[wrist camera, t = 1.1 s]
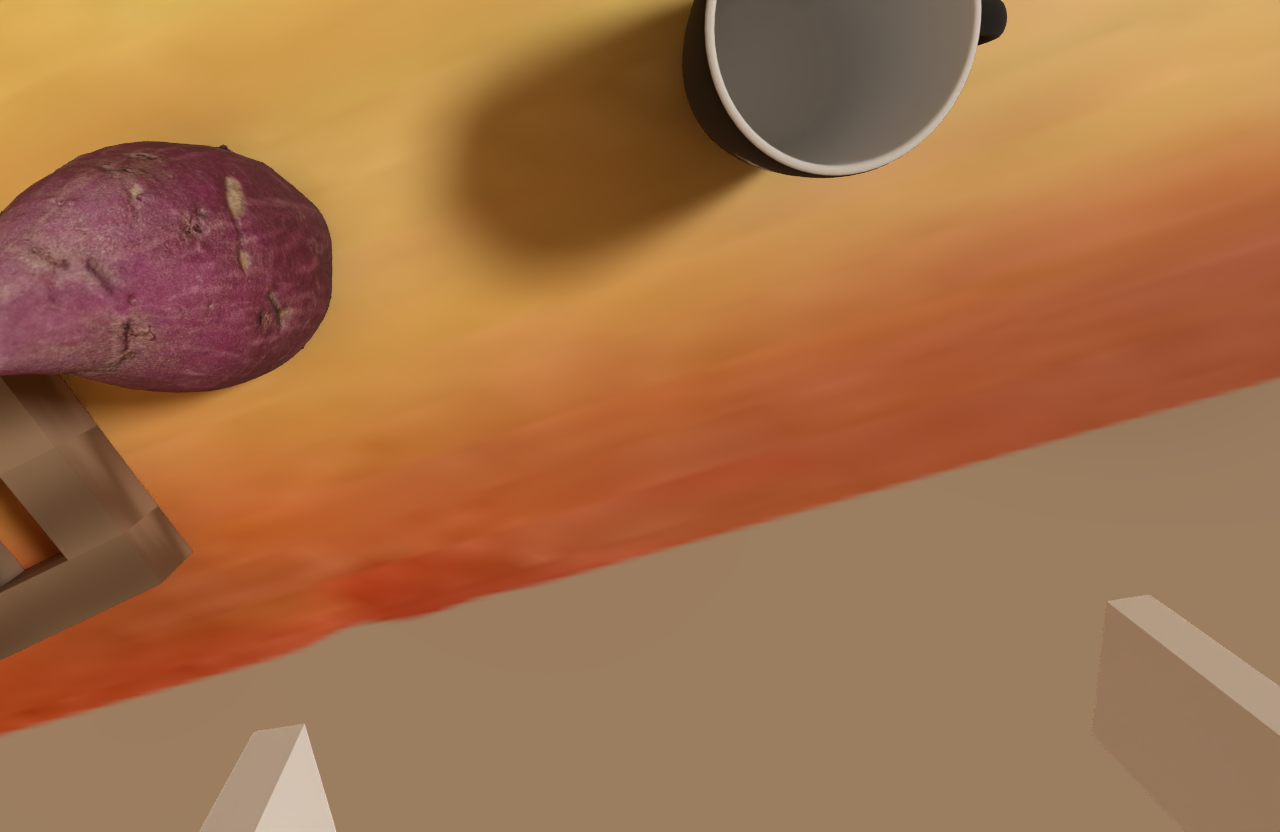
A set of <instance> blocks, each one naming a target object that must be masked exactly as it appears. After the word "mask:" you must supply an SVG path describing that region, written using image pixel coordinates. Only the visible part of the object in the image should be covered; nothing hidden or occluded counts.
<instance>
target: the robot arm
mask: <svg viewBox="0 0 1280 832" xmlns="http://www.w3.org/2000/svg"><path fill="white" fill-rule="evenodd" d="M1092 736H1093V737H1094V738H1095V739H1096V740H1097V741H1098V742H1099V743H1100V744H1101V745H1102V746H1103V747H1104V748H1105V750H1106V751H1107V752H1108V753H1109V754H1110V755H1111V756H1112V757H1113V758H1114V759H1115V760H1116V761H1117V762H1118V763H1119V764H1120V765H1121V766H1122V767H1123V768H1124V769H1125V770H1126V772H1127V773H1129V775H1130V776H1131V777H1132V778H1133V779H1134V780H1135V781H1136V782H1137V783H1138V784H1139V785H1140V786H1141V787H1142V788H1143V789H1144V790H1145V791H1146V792H1147V793H1148V795H1150V797H1151V798H1152V799H1153V800H1154V801H1156V803H1157V804H1158V805H1159V806H1160V807H1161V808H1162V809H1163V810H1164V811H1165V812H1166V813H1167V814H1168V816H1170V818H1171V819H1172V820H1173V821H1174V822H1175V823H1176V824H1177V825H1178V826H1179V827H1180V828H1181V829H1182V830H1183V831H1184V832H1280V687H1279V686H1278V685H1276V684H1275V683H1274V682H1272V681H1271V680H1270V679H1268V678H1267V677H1265V676H1264V675H1262V674H1261V673H1260V672H1258V671H1257V670H1255V669H1254V668H1253V667H1251V666H1250V665H1248V664H1247V663H1246V662H1244V661H1243V660H1241V659H1240V658H1238V657H1237V656H1236V655H1234V654H1233V653H1231V652H1230V651H1229V650H1227V649H1226V648H1224V647H1223V646H1222V645H1220V644H1219V643H1217V642H1216V641H1214V640H1213V639H1212V638H1210V637H1209V636H1207V635H1206V634H1204V633H1203V632H1202V631H1200V630H1199V629H1197V628H1196V627H1195V626H1193V625H1192V624H1190V623H1189V622H1188V621H1186V620H1185V619H1183V618H1182V617H1181V616H1179V615H1177V614H1176V613H1175V612H1173V611H1172V610H1171V609H1169V608H1168V607H1166V606H1165V605H1164V604H1162V603H1161V602H1159V601H1158V600H1156V599H1155V598H1154V597H1152V596H1151V595H1145V596H1137V597H1131V598H1125V599H1118V600H1111V601H1106V609H1105V619H1104V628H1103V637H1102V645H1101V655H1100V664H1099V673H1098V682H1097V691H1096V700H1095V709H1094V718H1093V727H1092ZM199 832H336V829H335V825H334V822H333V818H332V815H331V812H330V808H329V805H328V802H327V798H326V795H325V791H324V789H323V785H322V781H321V778H320V775H319V771H318V768H317V764H316V761H315V758H314V754H313V751H312V748H311V744H310V741H309V737H308V734H307V731H306V727H305V724H299V725H293V726H287V727H280V728H273V729H267V730H261V731H254V732H253V734H252V736H251V738H250V740H249V741H248V743H247V745H246V747H245V749H244V750H243V752H242V754H241V756H240V758H239V760H238V761H237V764H236V765H235V767H234V769H233V771H232V772H231V774H230V776H229V778H228V780H227V782H226V783H225V786H224V787H223V789H222V791H221V793H220V795H219V796H218V798H217V800H216V802H215V804H214V805H213V807H212V809H211V811H210V813H209V815H208V816H207V818H206V820H205V822H204V824H203V826H202V828H201V830H200V831H199Z"/></svg>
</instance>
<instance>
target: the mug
mask: <svg viewBox="0 0 1280 832" xmlns="http://www.w3.org/2000/svg"><path fill="white" fill-rule="evenodd" d="M1006 22H1007V13H1006V8H1005V5H1004V3H1003V2H1002V1H1001V0H694V3H693V6H692V9H691V12H690V16H689V19H688V23H687V27H686V32H685V37H684V45H683V59H682V68H683V80H684V86H685V91H686V95H687V98H688V101H689V104H690V107H691V109H692V111H693V113H694V115H695V117H696V119H697V121H698V122H699V124H700V125H701V127H702V128H703V130H704V131H705V132H706V133H707V135H708V136H709V137H710V138H711V139H712V140H713V141H714V142H715V143H716V144H717V145H718V146H720V147H721V148H722V149H724V150H725V151H726V152H728V153H729V154H731V155H733V156H734V157H736V158H738V159H739V160H742V161H744V162H746V163H748V164H750V165H753V166H756V167H759V168H762V169H765V170H768V171H772V172H777V173H781V174H786V175H792V176H800V177H810V178H834V177H844V176H851V175H856V174H860V173H865V172H868V171H871V170H874V169H877V168H879V167H882V166H884V165H886V164H888V163H890V162H892V161H894V160H896V159H898V158H900V157H901V156H903V155H904V154H906V153H907V152H909V151H910V150H912V149H913V148H915V147H916V146H917V145H918V144H919V143H921V142H922V141H923V140H924V139H925V138H926V137H927V136H928V135H929V134H930V133H931V132H932V131H933V130H934V129H935V128H936V127H937V126H938V125H939V124H940V122H941V121H942V120H943V119H944V117H945V116H946V115H947V113H948V112H949V111H950V109H951V108H952V106H953V104H954V103H955V101H956V99H957V98H958V96H959V94H960V92H961V90H962V88H963V86H964V84H965V82H966V80H967V77H968V75H969V72H970V70H971V67H972V64H973V60H974V57H975V54H976V49H977V46H978V45H981V44H984V43H987V42H989V41H992V40H994V39H996V38H998V37H1000V35H1001V34H1002V33H1003V31H1004V29H1005V26H1006Z"/></svg>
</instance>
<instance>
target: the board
mask: <svg viewBox="0 0 1280 832" xmlns="http://www.w3.org/2000/svg"><path fill="white" fill-rule="evenodd" d="M0 478H1V479H2V480H3V482H4V483H5V484H6V485H7V487H8V488H9V489H10V490H11V491H12V493H13V494H14V495H15V496H16V497H17V499H18V500H19V501H20V502H21V504H22V505H23V506H24V507H25V508H26V510H27V511H28V512H29V513H30V515H31V516H32V517H33V518H34V519H35V521H36V522H37V523H38V524H39V525H40V527H41V528H42V529H43V530H44V532H45V533H46V534H47V535H48V536H49V538H50V539H51V540H52V541H53V543H54V544H55V545H56V546H57V547H58V549H59V550H60V551H61V552H62V553H59V554H57V555H55V556H53V557H51V558H49V559H47V560H45V561H43V562H41V563H39V564H37V565H35V566H33V567H30V568H28V569H26V570H24V569H23V568H22V566H21V565H20V564H19V563H18V562H17V560H16V559H15V558H14V557H13V556H12V555H11V553H10V552H9V551H8V550H7V549H6V547H5V546H4V545H3V544H2V543H1V542H0V660H2V659H4V658H6V657H8V656H10V655H12V654H15V653H17V652H19V651H21V650H23V649H25V648H27V647H29V646H31V645H33V644H35V643H38V642H40V641H42V640H44V639H46V638H48V637H50V636H52V635H54V634H56V633H58V632H61V631H63V630H65V629H67V628H69V627H71V626H73V625H75V624H77V623H79V622H81V621H84V620H86V619H88V618H90V617H92V616H94V615H96V614H98V613H100V612H102V611H104V610H107V609H109V608H111V607H113V606H115V605H117V604H119V603H121V602H123V601H125V600H127V599H130V598H132V597H134V596H136V595H138V594H140V593H142V592H144V591H146V590H148V589H150V588H153V587H155V586H157V585H159V584H161V583H162V582H163V581H164V580H165V579H166V578H167V577H168V576H169V575H170V574H171V573H172V572H173V571H174V570H175V569H176V568H177V567H178V566H179V565H180V564H181V563H182V562H183V561H184V560H185V559H186V558H187V557H188V556H189V555H190V554H191V553H192V550H191V549H190V548H189V547H188V545H187V544H186V543H185V541H184V540H183V539H182V537H181V536H180V535H179V533H178V532H177V531H176V529H175V528H174V527H173V525H172V524H171V523H170V521H169V520H168V519H167V517H166V516H165V515H164V513H163V512H162V511H161V509H160V508H159V507H158V505H157V504H156V503H155V501H154V500H153V499H152V497H151V496H150V495H149V493H148V492H147V491H146V489H145V488H144V487H143V485H142V484H141V483H140V481H139V480H138V479H137V477H136V476H135V475H134V473H133V472H132V471H131V470H130V468H129V467H128V466H127V464H126V463H125V462H124V460H123V459H122V458H121V456H120V455H119V454H118V452H117V451H116V450H115V448H114V447H113V446H112V444H111V443H110V442H109V440H108V439H107V438H106V436H105V435H104V434H103V432H102V431H101V430H100V428H99V427H98V426H97V424H96V423H95V422H94V420H93V419H92V418H91V416H90V415H89V414H88V412H87V411H86V410H85V408H84V407H83V406H82V404H81V403H80V402H79V400H78V399H77V398H76V396H75V395H74V394H73V393H72V391H71V390H70V389H69V387H68V386H67V385H66V383H65V382H64V381H63V379H62V378H61V377H60V375H59V374H19V375H1V376H0Z"/></svg>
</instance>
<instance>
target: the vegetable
mask: <svg viewBox="0 0 1280 832" xmlns="http://www.w3.org/2000/svg"><path fill="white" fill-rule="evenodd" d="M331 292H332V245H331V238H330V233H329V230H328V227H327V224H326V222H325V220H324V218H323V216H322V214H321V213H320V211H319V210H318V209H317V207H316V206H315V205H314V204H313V203H312V202H310V201H309V200H308V199H307V198H306V197H305V196H304V195H303V194H302V193H301V192H299V191H298V190H297V189H296V188H295V187H294V186H293V185H292V184H290V183H289V182H287V181H286V180H285V179H284V178H282V177H281V176H280V175H279V174H278V173H276V172H275V171H274V170H273V169H272V168H270V167H269V166H267V165H266V164H264V163H263V162H259V161H256V160H253V159H250V158H247V157H244V156H242V155H239V154H236V153H234V152H233V151H232V150H229V148H228V147H227V146H225V145H222V146H220V147H210V146H205V145H190V144H179V143H168V142H152V141H144V142H134V143H124V144H119V145H115V146H109V147H105V148H102V149H99V150H97V151H94V152H92V153H87V154H84V155H80V156H78V157H77V158H75V159H74V160H72V161H70V162H68V163H67V164H66V165H63V166H62V167H61V168H59V169H57V170H56V171H55V172H54V173H52V174H50V175H48V176H46V177H45V178H43V179H41V180H39V181H38V182H36V183H34V184H33V185H31V186H30V187H29V188H27V189H26V190H25V191H23V192H22V193H21V194H20V195H18V196H17V197H16V198H15V199H14V200H13V201H12V202H11V203H10V204H9V205H8V206H7V207H6V208H5V209H4V211H2V212H1V214H0V376H1V375H19V374H70V375H76V376H79V377H83V378H87V379H91V380H95V381H99V382H103V383H107V384H112V385H117V386H120V387H125V388H130V389H138V390H148V391H160V392H202V391H213V390H218V389H223V388H228V387H232V386H235V385H238V384H241V383H244V382H247V381H249V380H252V379H255V378H257V377H259V376H262V375H264V374H266V373H268V372H270V371H272V370H274V369H276V368H278V367H279V366H281V365H283V364H284V363H285V362H287V361H288V360H290V359H291V358H292V357H293V356H294V355H295V354H297V353H298V352H299V351H300V350H301V349H303V348H304V346H305V344H306V343H307V342H308V341H309V340H310V338H311V337H312V336H313V334H314V333H315V331H316V330H317V328H318V327H319V325H320V323H321V322H322V320H323V319H324V317H325V314H326V312H327V310H328V307H329V302H330V299H331Z"/></svg>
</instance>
